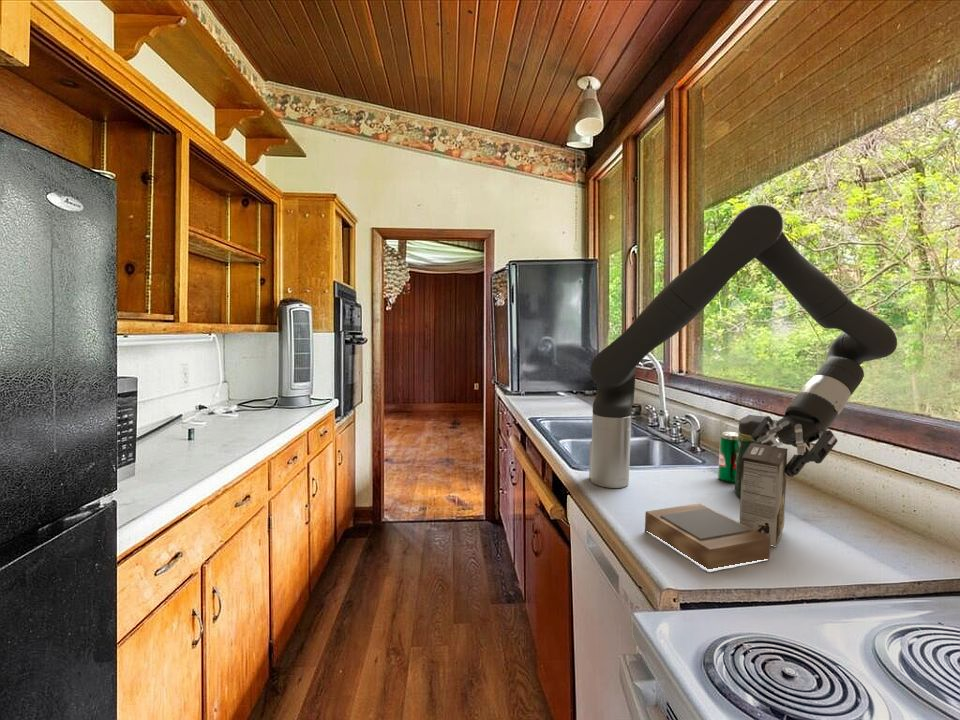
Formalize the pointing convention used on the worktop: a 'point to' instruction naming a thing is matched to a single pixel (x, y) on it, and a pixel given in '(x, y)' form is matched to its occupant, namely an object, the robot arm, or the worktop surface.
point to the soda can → (728, 457)
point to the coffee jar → (745, 444)
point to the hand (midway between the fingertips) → (769, 467)
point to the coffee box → (763, 490)
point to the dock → (707, 535)
